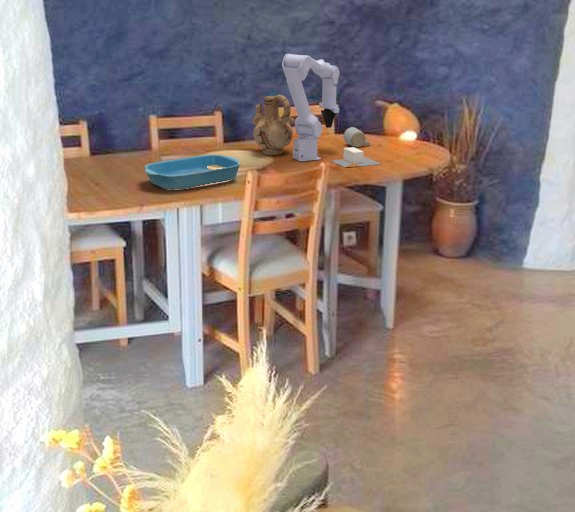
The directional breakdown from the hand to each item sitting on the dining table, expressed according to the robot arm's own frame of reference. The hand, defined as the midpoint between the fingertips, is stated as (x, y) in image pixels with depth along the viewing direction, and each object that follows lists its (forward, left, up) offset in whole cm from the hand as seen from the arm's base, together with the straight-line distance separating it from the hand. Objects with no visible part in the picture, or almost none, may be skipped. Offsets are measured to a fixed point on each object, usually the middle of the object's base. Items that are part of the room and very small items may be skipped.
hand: (328, 127), depth 370 cm
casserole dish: (-68, -25, -11) cm, 73 cm away
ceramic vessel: (-22, +8, -11) cm, 26 cm away
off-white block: (+1, -15, -8) cm, 17 cm away
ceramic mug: (+17, +6, -11) cm, 21 cm away
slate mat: (+1, -22, -10) cm, 25 cm away
